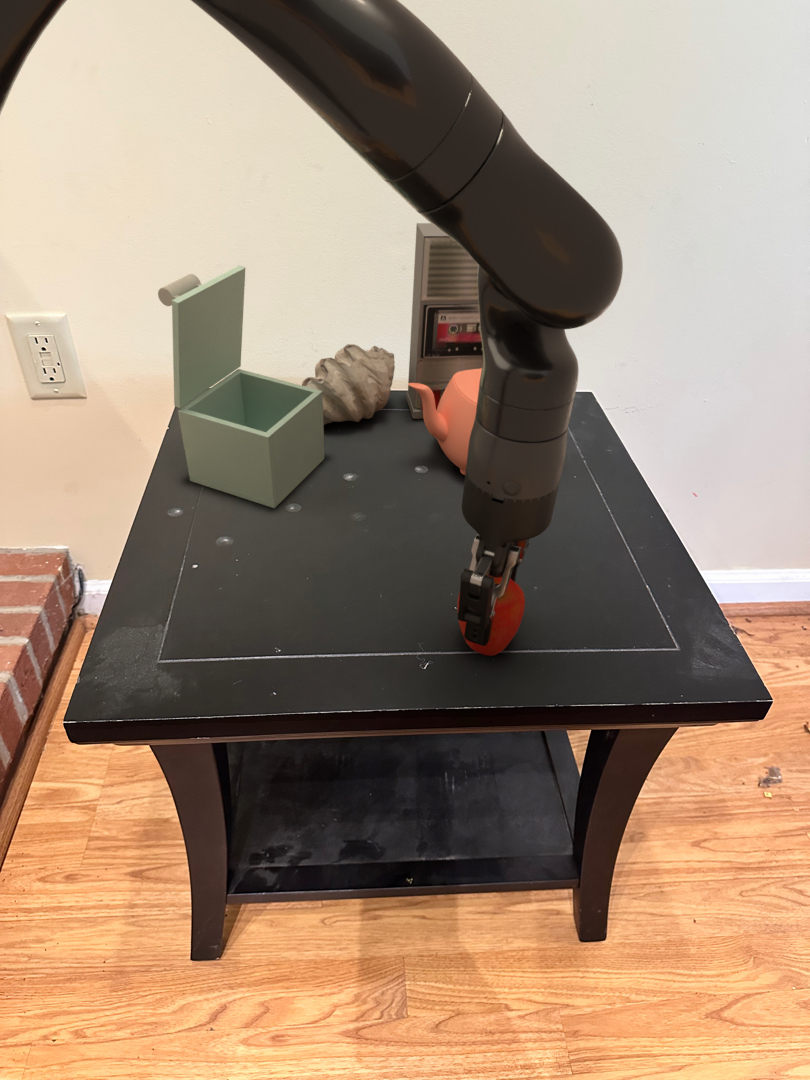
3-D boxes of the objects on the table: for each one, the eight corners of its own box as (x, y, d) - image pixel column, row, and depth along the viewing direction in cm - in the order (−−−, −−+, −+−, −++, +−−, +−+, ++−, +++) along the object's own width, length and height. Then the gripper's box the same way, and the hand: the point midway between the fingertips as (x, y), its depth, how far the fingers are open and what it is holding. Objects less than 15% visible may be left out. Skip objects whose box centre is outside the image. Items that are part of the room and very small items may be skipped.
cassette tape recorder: (413, 421, 103) (423, 238, 87) (406, 400, 107) (415, 223, 92) (507, 417, 105) (534, 238, 89) (496, 396, 110) (521, 222, 94)
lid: (245, 267, 83) (205, 251, 84) (178, 302, 74) (134, 284, 75) (240, 366, 91) (204, 350, 92) (179, 408, 83) (140, 390, 84)
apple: (452, 617, 73) (459, 561, 69) (513, 621, 73) (524, 565, 69) (453, 665, 68) (460, 608, 64) (518, 669, 68) (531, 612, 64)
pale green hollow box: (324, 458, 94) (322, 390, 88) (274, 508, 86) (268, 437, 80) (245, 435, 98) (238, 368, 92) (189, 481, 89) (177, 410, 83)
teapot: (390, 439, 99) (393, 355, 91) (526, 423, 104) (539, 342, 96) (419, 495, 89) (425, 407, 81) (567, 475, 94) (586, 390, 86)
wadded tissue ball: (406, 430, 101) (409, 364, 94) (298, 440, 98) (294, 371, 91) (390, 395, 108) (392, 331, 102) (289, 403, 105) (285, 337, 99)
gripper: (497, 416, 64) (477, 559, 75) (435, 503, 54) (422, 654, 64) (581, 438, 62) (548, 582, 73) (533, 532, 52) (502, 684, 62)
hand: (488, 616), depth 68 cm, fingers closed on apple, 6 cm apart
